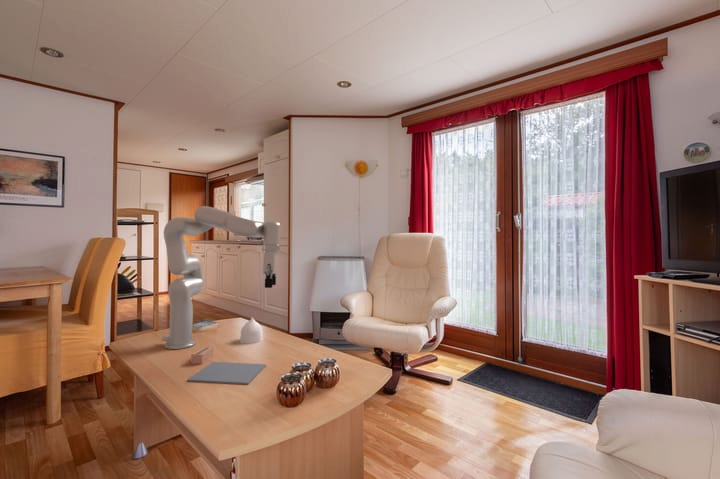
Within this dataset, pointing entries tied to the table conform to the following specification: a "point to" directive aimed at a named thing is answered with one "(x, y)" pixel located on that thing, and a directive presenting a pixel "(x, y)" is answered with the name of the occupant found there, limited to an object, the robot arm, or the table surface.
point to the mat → (228, 373)
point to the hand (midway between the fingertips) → (270, 286)
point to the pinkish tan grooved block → (201, 355)
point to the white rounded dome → (251, 332)
